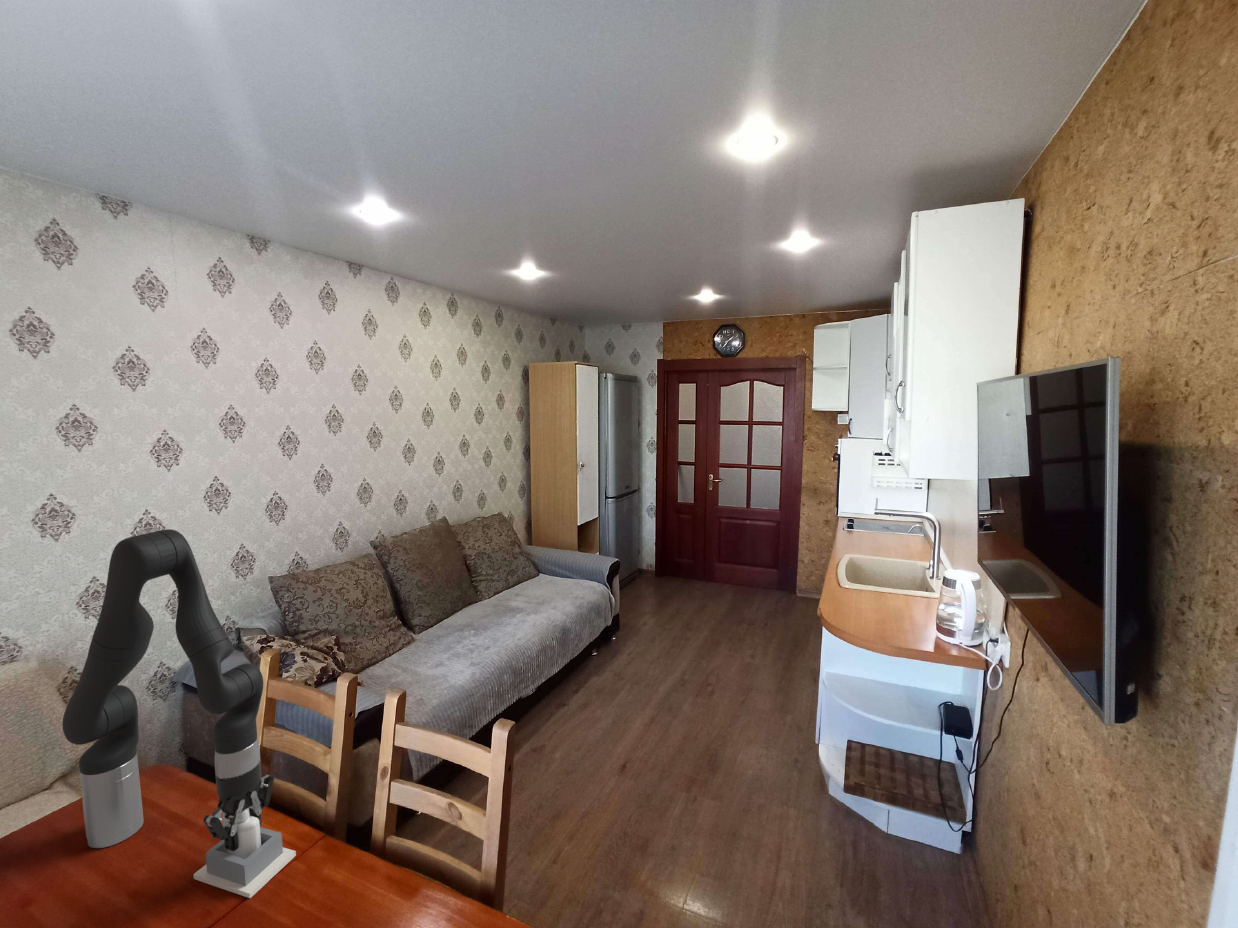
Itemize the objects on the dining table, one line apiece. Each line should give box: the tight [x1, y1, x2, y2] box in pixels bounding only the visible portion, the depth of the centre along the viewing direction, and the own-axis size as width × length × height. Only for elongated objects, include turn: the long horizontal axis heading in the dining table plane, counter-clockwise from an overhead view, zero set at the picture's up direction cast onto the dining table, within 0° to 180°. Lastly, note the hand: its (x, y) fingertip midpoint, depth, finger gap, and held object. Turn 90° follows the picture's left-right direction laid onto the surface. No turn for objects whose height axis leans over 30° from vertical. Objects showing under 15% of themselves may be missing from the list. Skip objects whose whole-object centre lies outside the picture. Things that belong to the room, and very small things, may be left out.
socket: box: [193, 826, 297, 899], centre depth 112 cm, size 15×10×6 cm
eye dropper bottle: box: [228, 808, 261, 859], centre depth 111 cm, size 4×6×12 cm
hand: (243, 839), depth 111 cm, fingers closed on eye dropper bottle, 4 cm apart
